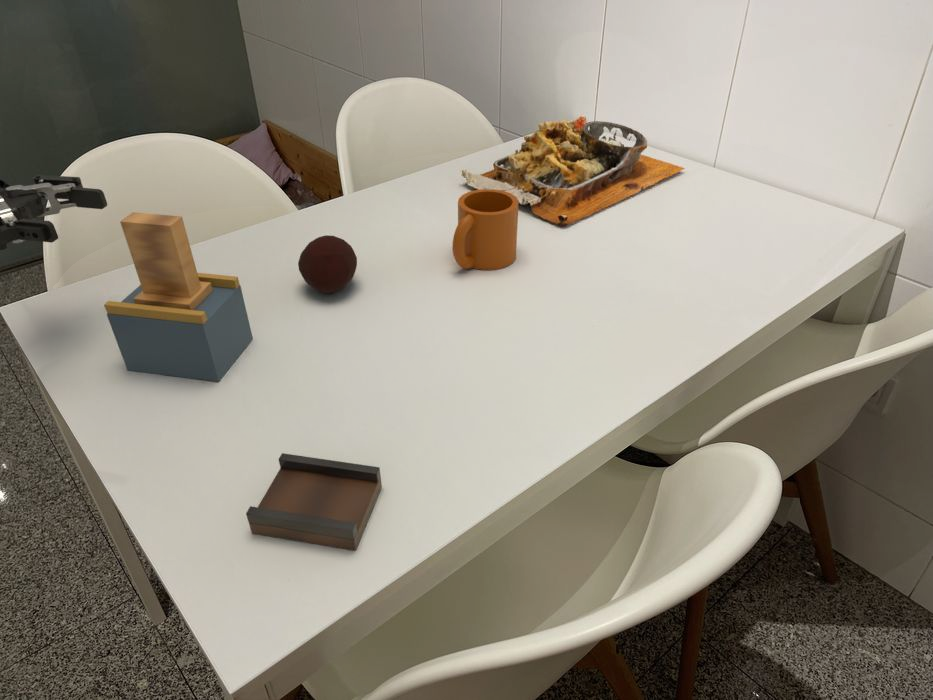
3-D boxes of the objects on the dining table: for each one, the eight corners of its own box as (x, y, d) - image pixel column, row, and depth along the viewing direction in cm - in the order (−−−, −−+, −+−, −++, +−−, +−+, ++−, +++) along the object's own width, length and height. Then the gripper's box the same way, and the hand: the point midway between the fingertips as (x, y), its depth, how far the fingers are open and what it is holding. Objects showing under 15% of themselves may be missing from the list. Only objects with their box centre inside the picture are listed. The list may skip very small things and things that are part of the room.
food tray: (580, 139, 147) (585, 87, 141) (685, 172, 132) (695, 115, 126) (457, 185, 128) (456, 127, 122) (563, 230, 113) (568, 166, 107)
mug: (429, 261, 105) (427, 205, 100) (489, 237, 111) (490, 183, 106) (468, 284, 99) (467, 226, 94) (529, 257, 105) (531, 202, 100)
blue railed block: (127, 370, 84) (102, 305, 78) (167, 329, 91) (148, 266, 85) (218, 382, 82) (200, 316, 76) (253, 338, 89) (238, 275, 83)
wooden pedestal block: (135, 307, 80) (108, 226, 74) (159, 285, 84) (135, 206, 78) (191, 313, 79) (167, 231, 73) (213, 291, 83) (192, 211, 77)
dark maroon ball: (357, 269, 103) (351, 221, 99) (362, 301, 96) (356, 251, 91) (302, 275, 102) (293, 227, 97) (303, 308, 95) (294, 257, 90)
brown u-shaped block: (251, 533, 64) (245, 513, 62) (286, 472, 70) (281, 452, 68) (355, 551, 62) (352, 530, 60) (382, 486, 68) (379, 466, 66)
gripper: (-115, 198, 72) (21, 210, 70) (-12, 150, 84) (108, 159, 81) (-81, 262, 77) (48, 276, 74) (13, 208, 88) (128, 218, 85)
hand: (79, 215), depth 77 cm, fingers open, 8 cm apart
